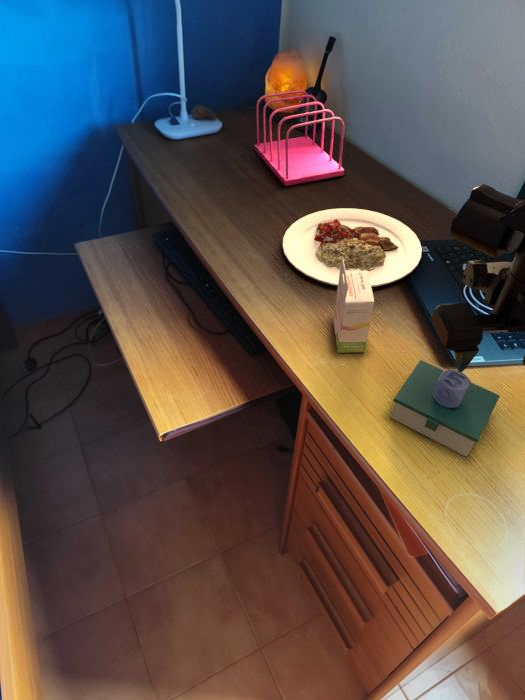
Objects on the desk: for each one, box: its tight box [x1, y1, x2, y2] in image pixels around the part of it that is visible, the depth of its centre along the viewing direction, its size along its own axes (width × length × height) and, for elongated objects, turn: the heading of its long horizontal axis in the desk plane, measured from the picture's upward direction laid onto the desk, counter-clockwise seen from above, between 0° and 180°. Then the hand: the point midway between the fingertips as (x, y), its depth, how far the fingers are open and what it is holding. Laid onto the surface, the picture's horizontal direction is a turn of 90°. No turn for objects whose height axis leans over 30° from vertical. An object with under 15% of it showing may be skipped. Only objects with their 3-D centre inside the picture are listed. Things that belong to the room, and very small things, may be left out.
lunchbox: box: [390, 359, 501, 458], centre depth 70 cm, size 12×10×5 cm
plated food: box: [282, 207, 423, 288], centre depth 102 cm, size 30×30×3 cm
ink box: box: [333, 257, 375, 354], centre depth 79 cm, size 9×5×15 cm, turn 179°
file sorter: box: [254, 89, 345, 187], centre depth 128 cm, size 17×25×16 cm
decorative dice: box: [432, 369, 472, 408], centre depth 67 cm, size 4×4×4 cm
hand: (492, 367), depth 63 cm, fingers open, 9 cm apart
